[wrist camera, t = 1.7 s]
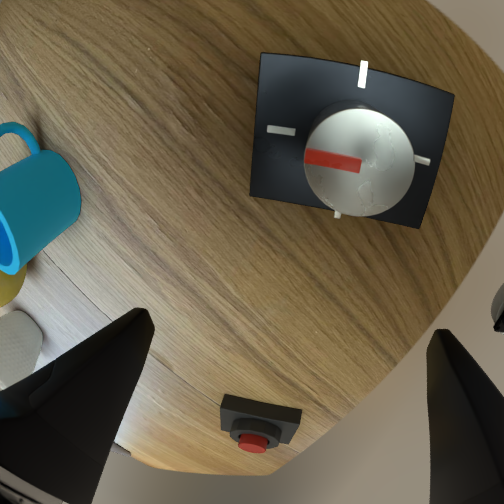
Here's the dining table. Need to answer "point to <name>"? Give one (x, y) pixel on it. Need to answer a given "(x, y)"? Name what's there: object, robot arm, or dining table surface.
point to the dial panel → (324, 94)
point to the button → (253, 443)
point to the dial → (358, 159)
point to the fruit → (11, 285)
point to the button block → (258, 420)
